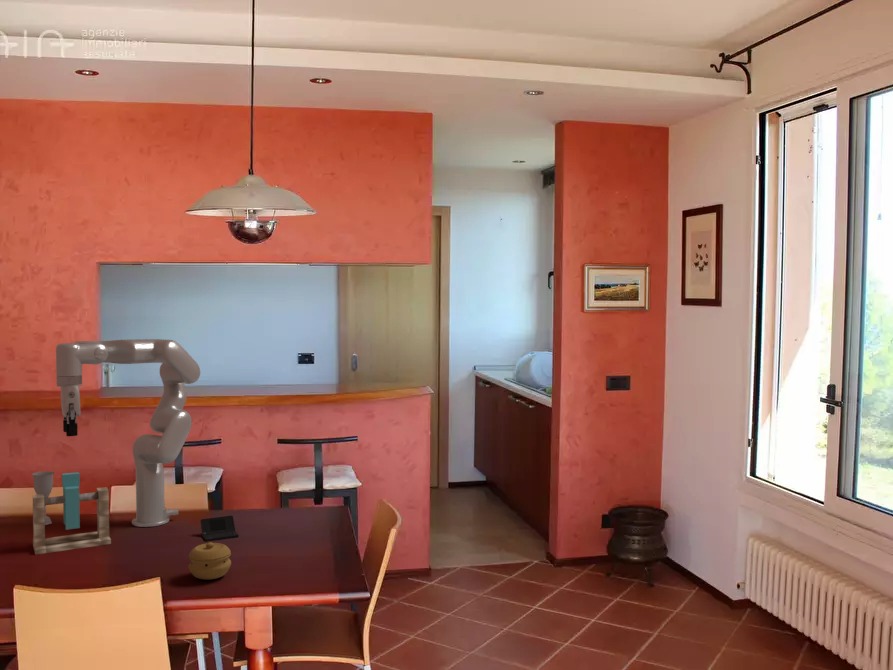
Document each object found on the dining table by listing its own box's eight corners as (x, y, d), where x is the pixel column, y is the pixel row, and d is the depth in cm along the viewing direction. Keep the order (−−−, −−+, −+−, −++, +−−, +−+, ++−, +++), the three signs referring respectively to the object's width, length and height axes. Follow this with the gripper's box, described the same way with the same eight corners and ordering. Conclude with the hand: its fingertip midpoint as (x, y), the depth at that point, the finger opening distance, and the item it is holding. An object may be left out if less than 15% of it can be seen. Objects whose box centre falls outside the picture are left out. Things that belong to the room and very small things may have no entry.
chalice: (59, 521, 287) (58, 471, 286) (48, 526, 280) (47, 475, 279) (40, 520, 287) (39, 471, 287) (28, 525, 281) (27, 475, 280)
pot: (237, 578, 227) (237, 544, 227) (196, 587, 220) (196, 551, 220) (223, 567, 237) (222, 534, 236) (183, 575, 230) (182, 541, 230)
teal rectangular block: (78, 521, 264) (77, 470, 264) (81, 527, 256) (80, 475, 256) (61, 523, 262) (61, 471, 261) (64, 529, 254) (63, 477, 253)
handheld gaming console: (208, 538, 261) (205, 510, 266) (201, 547, 265) (197, 520, 270) (242, 537, 268) (237, 510, 273) (233, 546, 272) (230, 519, 277)
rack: (105, 534, 270) (105, 485, 269) (110, 543, 260) (110, 492, 259) (32, 544, 259) (31, 492, 258) (35, 554, 249) (34, 500, 248)
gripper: (85, 383, 252) (86, 436, 252) (79, 378, 267) (79, 429, 267) (59, 384, 248) (60, 438, 249) (54, 379, 263) (55, 431, 263)
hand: (70, 433), depth 258 cm, fingers open, 9 cm apart
